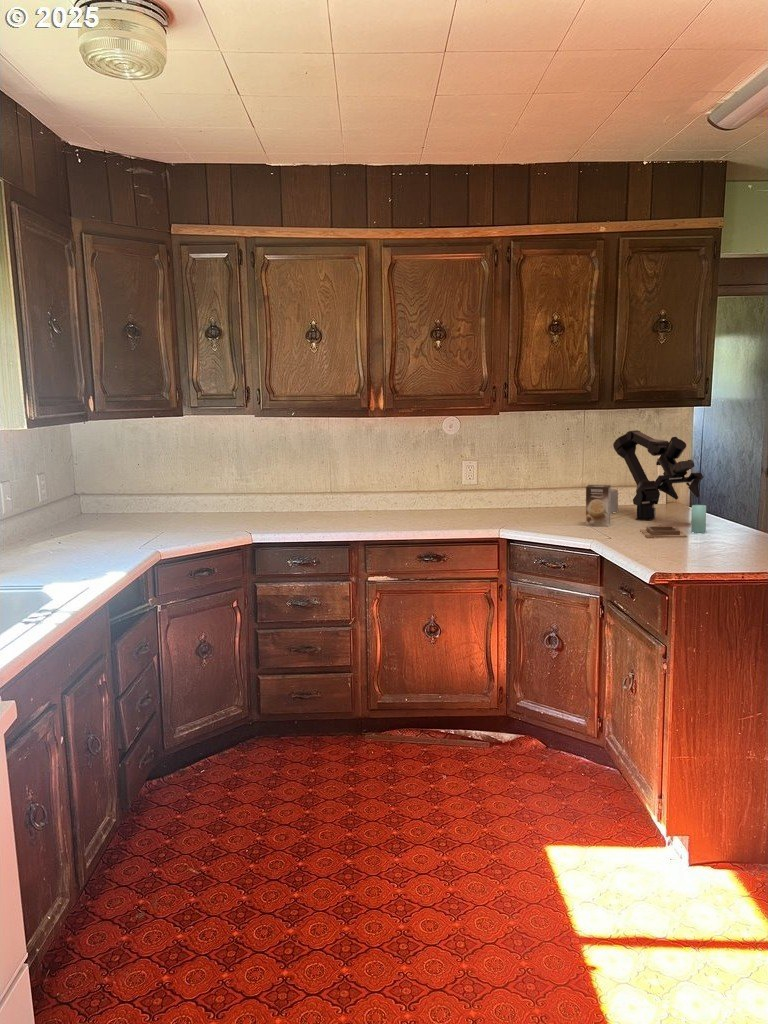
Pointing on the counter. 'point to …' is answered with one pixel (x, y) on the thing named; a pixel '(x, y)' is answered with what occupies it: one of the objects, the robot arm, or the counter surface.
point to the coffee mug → (614, 501)
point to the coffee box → (598, 505)
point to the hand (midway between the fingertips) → (687, 497)
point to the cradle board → (662, 532)
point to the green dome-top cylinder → (698, 519)
